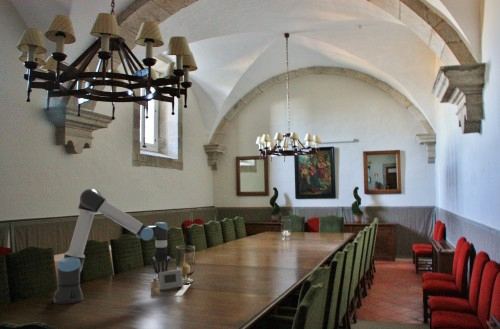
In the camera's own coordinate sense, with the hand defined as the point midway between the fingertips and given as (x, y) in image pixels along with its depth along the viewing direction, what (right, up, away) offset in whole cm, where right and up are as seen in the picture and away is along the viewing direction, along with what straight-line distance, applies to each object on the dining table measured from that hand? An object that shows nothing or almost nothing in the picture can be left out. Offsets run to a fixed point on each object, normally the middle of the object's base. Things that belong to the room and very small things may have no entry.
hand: (160, 284), depth 260 cm
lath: (+16, -2, -5) cm, 16 cm away
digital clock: (+6, -2, -1) cm, 7 cm away
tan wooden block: (0, -1, -17) cm, 17 cm away
